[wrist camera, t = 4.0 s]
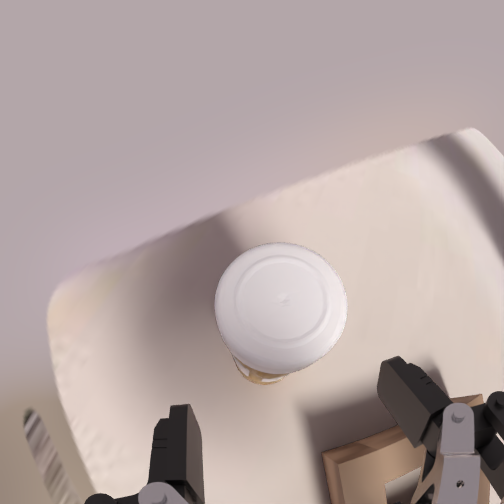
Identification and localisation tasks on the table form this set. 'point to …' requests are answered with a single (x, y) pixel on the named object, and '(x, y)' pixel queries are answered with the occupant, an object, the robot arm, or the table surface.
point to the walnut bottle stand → (380, 465)
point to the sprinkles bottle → (279, 310)
